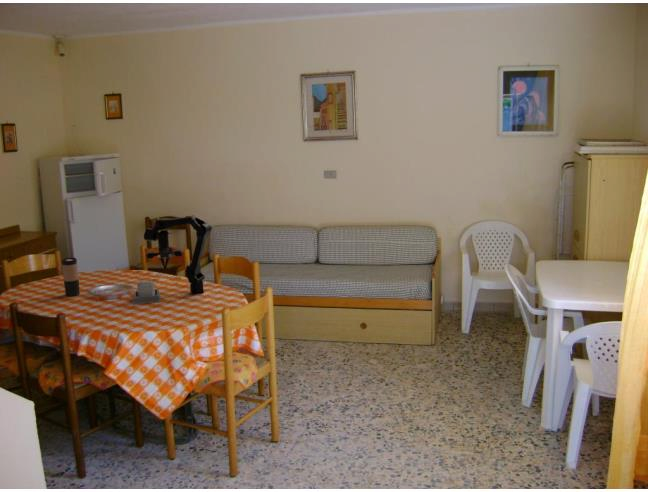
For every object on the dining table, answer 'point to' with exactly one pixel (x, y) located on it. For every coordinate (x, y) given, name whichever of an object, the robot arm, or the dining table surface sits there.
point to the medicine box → (146, 288)
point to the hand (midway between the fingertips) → (165, 268)
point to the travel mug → (70, 276)
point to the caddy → (146, 298)
